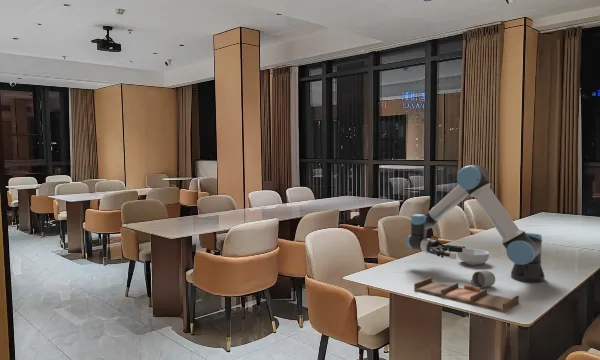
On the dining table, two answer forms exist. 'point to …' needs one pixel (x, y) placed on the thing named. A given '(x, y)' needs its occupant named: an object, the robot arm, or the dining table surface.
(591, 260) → the dining table surface
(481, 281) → the ceramic mug
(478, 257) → the cereal bowl
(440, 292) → the rack
